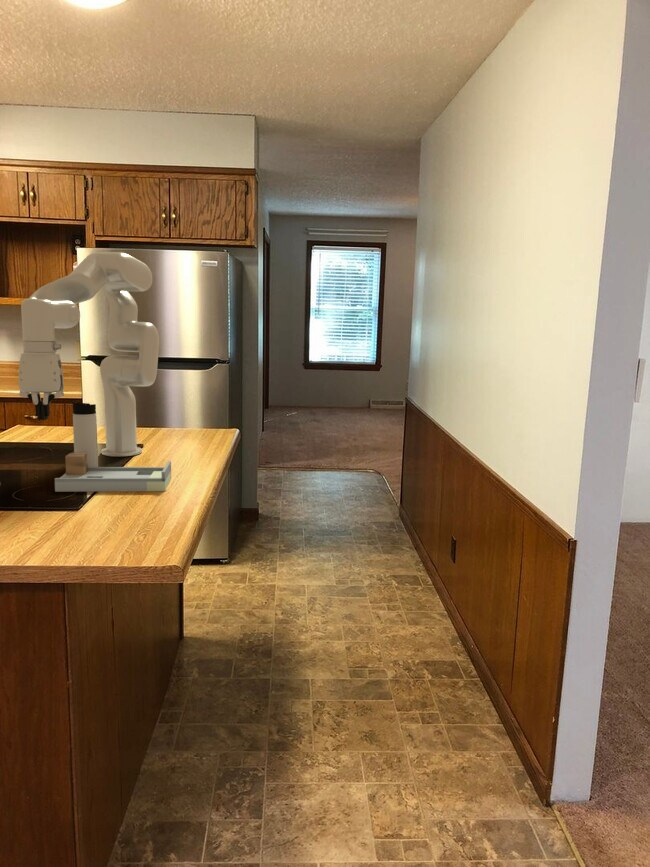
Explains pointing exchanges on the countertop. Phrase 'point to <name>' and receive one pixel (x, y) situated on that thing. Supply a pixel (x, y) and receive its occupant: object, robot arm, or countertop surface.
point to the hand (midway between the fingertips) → (42, 419)
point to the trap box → (117, 479)
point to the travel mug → (85, 431)
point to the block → (76, 463)
